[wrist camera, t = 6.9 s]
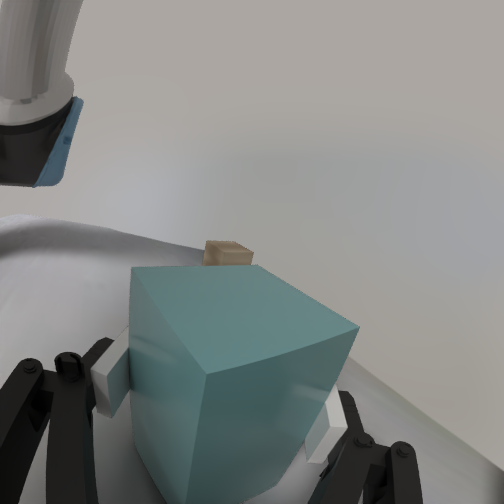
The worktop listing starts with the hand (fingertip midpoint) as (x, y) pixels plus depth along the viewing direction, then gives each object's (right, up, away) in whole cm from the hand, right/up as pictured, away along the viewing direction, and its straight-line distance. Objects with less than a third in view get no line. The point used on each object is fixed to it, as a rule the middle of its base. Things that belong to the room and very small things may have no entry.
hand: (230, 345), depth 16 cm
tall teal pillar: (-2, -7, -3) cm, 8 cm away
